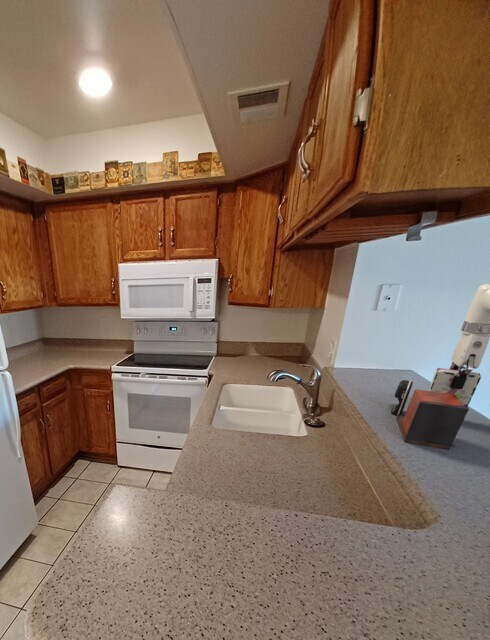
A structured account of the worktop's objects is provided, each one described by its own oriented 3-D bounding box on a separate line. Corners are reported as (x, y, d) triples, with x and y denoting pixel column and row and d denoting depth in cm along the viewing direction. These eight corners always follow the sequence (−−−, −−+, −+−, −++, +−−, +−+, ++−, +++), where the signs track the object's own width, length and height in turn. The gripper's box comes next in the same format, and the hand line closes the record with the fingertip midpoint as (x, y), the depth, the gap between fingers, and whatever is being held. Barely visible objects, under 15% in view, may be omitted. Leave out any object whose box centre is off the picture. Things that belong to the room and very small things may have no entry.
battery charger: (390, 407, 120) (400, 377, 115) (402, 410, 118) (413, 380, 113) (387, 414, 116) (398, 383, 110) (400, 416, 114) (412, 385, 108)
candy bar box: (458, 418, 112) (480, 372, 104) (460, 424, 108) (482, 376, 100) (419, 411, 118) (437, 366, 110) (419, 416, 114) (437, 370, 106)
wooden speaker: (434, 424, 108) (450, 387, 102) (449, 450, 94) (469, 408, 88) (396, 418, 112) (409, 382, 106) (404, 442, 98) (420, 402, 92)
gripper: (505, 335, 91) (475, 396, 99) (483, 324, 104) (459, 379, 113) (471, 332, 93) (445, 392, 102) (454, 323, 107) (433, 376, 116)
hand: (453, 384), depth 107 cm, fingers closed on candy bar box, 5 cm apart
